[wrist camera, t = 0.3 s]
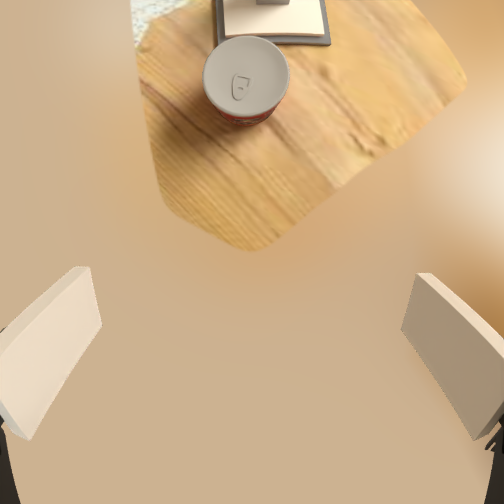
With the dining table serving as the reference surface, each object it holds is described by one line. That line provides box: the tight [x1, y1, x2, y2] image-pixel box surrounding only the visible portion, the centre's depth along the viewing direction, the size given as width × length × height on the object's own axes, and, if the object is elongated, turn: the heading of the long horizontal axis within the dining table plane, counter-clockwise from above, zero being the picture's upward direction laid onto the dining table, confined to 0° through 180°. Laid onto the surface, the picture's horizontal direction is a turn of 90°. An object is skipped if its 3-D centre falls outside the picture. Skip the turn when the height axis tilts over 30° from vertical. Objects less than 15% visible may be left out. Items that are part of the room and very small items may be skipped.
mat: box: [216, 0, 331, 46], centre depth 27 cm, size 14×14×1 cm
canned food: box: [202, 36, 290, 126], centre depth 27 cm, size 8×8×11 cm
